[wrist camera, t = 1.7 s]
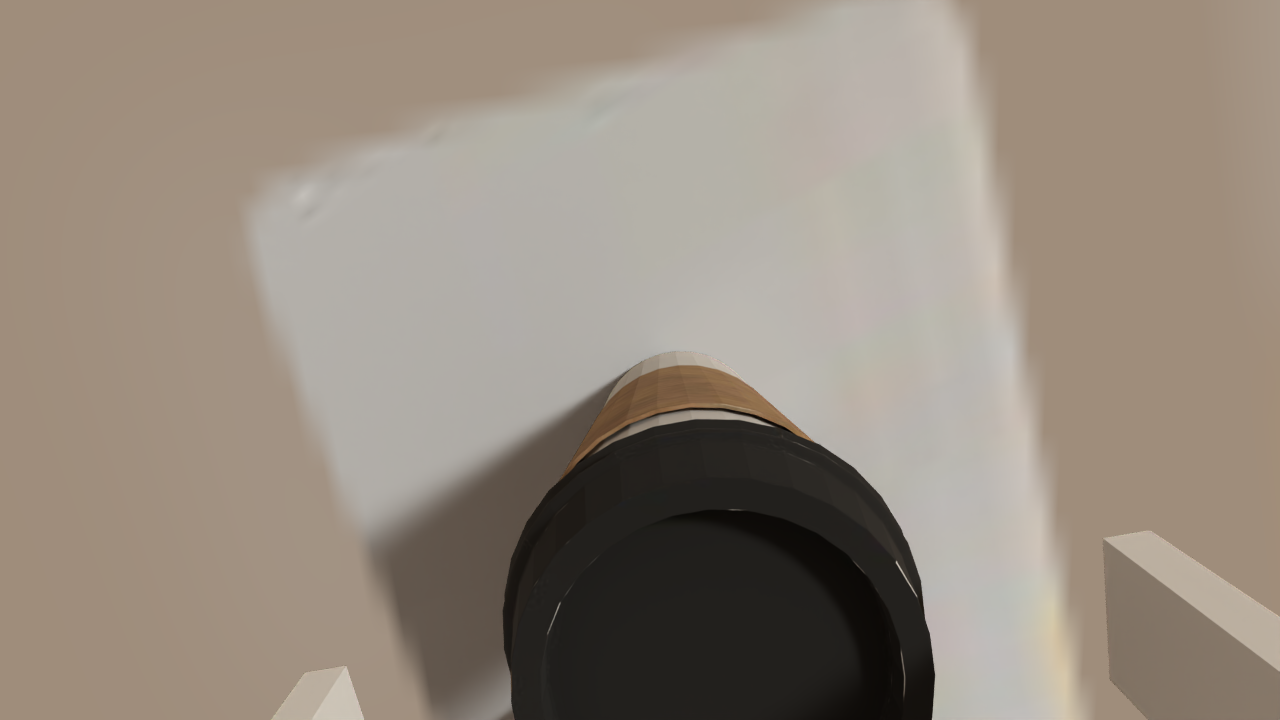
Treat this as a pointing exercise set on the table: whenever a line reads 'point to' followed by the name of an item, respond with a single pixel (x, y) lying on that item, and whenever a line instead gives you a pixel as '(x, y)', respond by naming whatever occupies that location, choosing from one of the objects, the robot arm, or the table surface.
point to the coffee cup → (712, 570)
